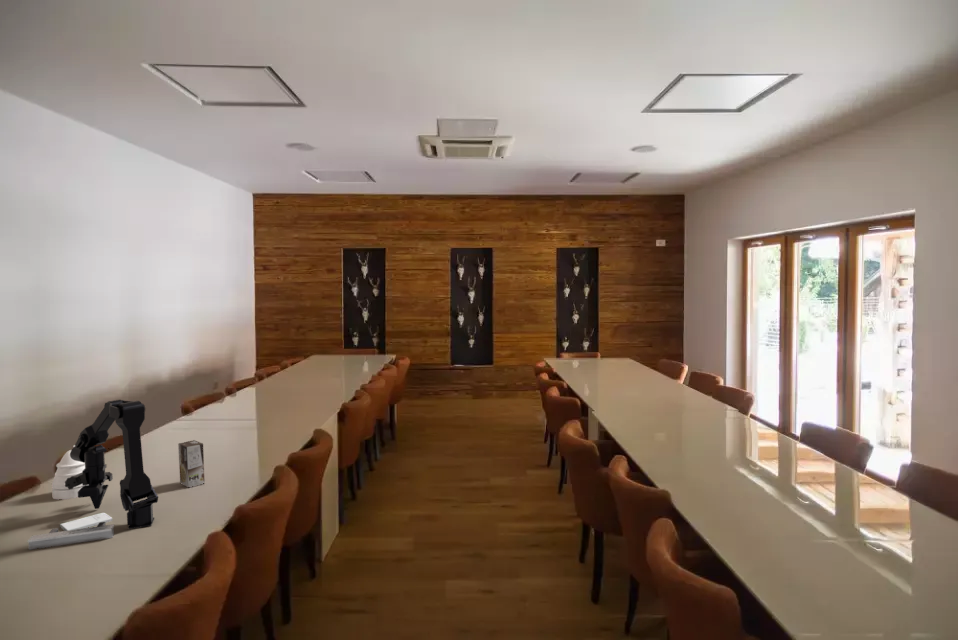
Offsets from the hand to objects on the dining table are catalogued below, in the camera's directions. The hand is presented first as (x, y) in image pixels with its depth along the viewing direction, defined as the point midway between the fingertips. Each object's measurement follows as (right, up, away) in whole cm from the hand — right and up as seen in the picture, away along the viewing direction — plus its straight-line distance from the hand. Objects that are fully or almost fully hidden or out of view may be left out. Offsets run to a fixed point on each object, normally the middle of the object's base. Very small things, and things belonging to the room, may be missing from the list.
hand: (97, 508), depth 197 cm
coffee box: (+20, +1, +27) cm, 33 cm away
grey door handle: (+9, -2, -23) cm, 25 cm away
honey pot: (-21, 0, +17) cm, 27 cm away
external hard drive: (+4, -2, -12) cm, 13 cm away
